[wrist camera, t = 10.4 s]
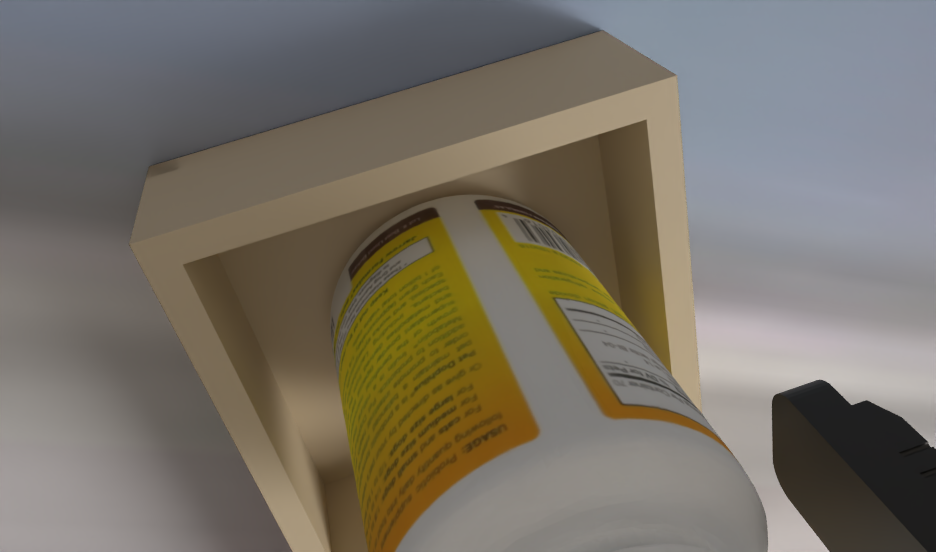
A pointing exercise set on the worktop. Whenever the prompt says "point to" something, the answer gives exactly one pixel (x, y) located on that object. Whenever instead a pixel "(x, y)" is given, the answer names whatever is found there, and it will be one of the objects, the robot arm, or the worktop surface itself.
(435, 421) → the supplement bottle
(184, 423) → the worktop surface
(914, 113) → the worktop surface
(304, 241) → the divided tray
